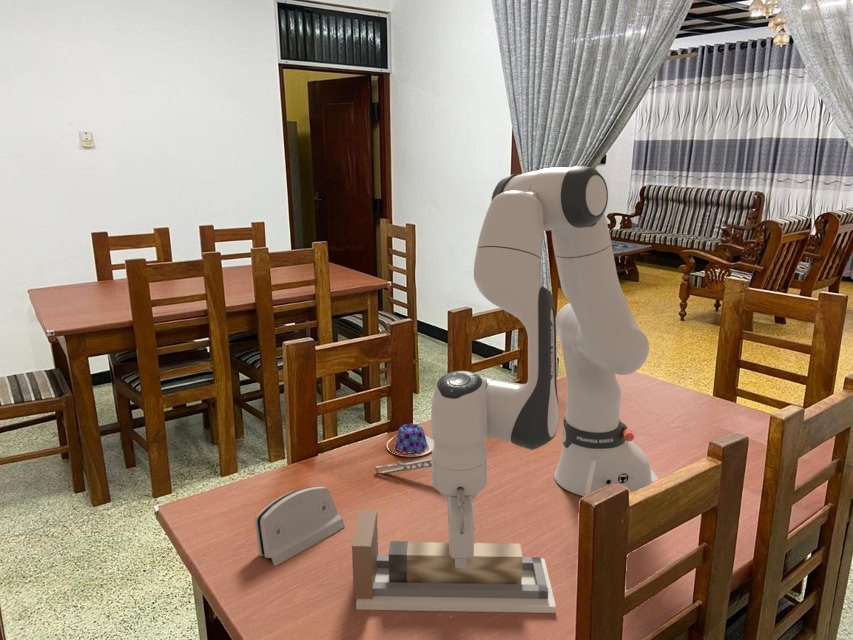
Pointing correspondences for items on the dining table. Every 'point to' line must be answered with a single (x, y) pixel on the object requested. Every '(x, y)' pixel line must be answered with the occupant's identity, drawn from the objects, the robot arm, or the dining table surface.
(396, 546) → the wooden block
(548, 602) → the slot board
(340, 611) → the dining table surface
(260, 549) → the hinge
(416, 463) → the bracket
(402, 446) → the pudding
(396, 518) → the dining table surface
